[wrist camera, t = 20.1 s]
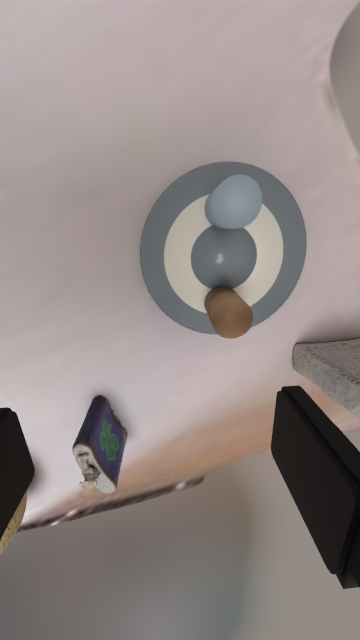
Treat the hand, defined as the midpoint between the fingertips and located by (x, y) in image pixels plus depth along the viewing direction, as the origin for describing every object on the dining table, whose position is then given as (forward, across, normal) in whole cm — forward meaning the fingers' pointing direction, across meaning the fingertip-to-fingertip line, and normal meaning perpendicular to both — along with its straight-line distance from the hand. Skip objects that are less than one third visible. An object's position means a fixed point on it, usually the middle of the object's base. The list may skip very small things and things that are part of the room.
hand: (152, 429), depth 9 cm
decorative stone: (+24, -24, +11) cm, 35 cm away
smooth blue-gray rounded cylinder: (+23, -8, -9) cm, 26 cm away
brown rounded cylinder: (+23, -8, +2) cm, 24 cm away
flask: (+25, +9, +20) cm, 33 cm away
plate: (+24, -8, -3) cm, 25 cm away
